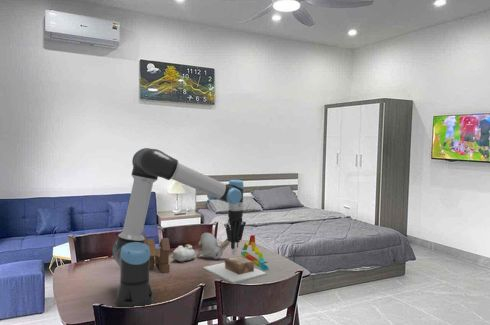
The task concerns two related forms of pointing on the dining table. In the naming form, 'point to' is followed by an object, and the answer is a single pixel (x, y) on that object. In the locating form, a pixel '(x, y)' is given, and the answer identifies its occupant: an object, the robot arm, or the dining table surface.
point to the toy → (211, 246)
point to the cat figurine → (183, 253)
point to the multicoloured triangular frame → (257, 262)
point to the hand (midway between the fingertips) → (234, 254)
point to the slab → (239, 265)
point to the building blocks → (159, 253)
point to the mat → (232, 273)
